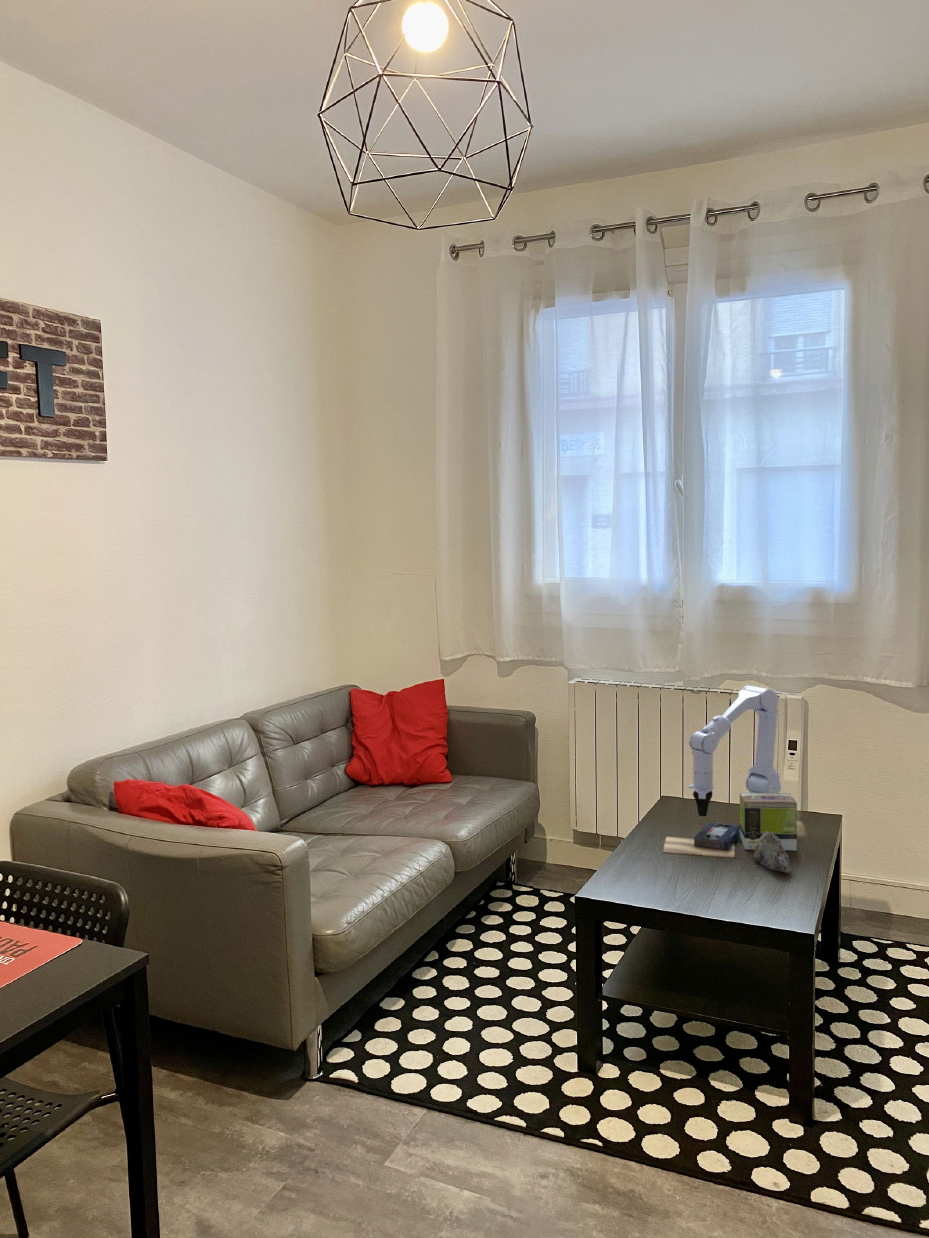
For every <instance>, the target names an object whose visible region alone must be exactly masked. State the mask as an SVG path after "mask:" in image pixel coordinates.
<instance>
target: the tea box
mask: <svg viewBox="0 0 929 1238" xmlns="http://www.w3.org/2000/svg"><path fill="white" fill-rule="evenodd" d="M797 804H798V802H797V801H796V800H795V798H794V797H793V796H792V794H791V793H788V792H784V793H782V792H779V793H749V792H740V793H739V826H740V836H739V838H740V841H742V842H741V843H742V846H743V848H744V850H750V851H751V850H753V851H755V848H756V846H757V843H758V841H759V839H760V837H761V836H762V835H763V834H764V832H765V831H768V832H773V833H774V835H775V836H777V837H778V838H779V840H780V841H781V845H782V847H783V849H784V850H785V851H797V850H798V805H797Z"/></svg>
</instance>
